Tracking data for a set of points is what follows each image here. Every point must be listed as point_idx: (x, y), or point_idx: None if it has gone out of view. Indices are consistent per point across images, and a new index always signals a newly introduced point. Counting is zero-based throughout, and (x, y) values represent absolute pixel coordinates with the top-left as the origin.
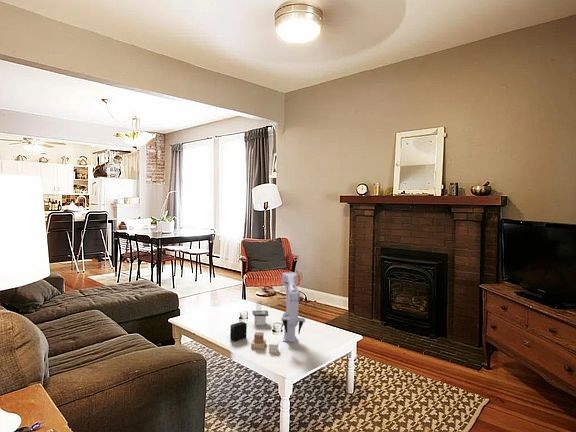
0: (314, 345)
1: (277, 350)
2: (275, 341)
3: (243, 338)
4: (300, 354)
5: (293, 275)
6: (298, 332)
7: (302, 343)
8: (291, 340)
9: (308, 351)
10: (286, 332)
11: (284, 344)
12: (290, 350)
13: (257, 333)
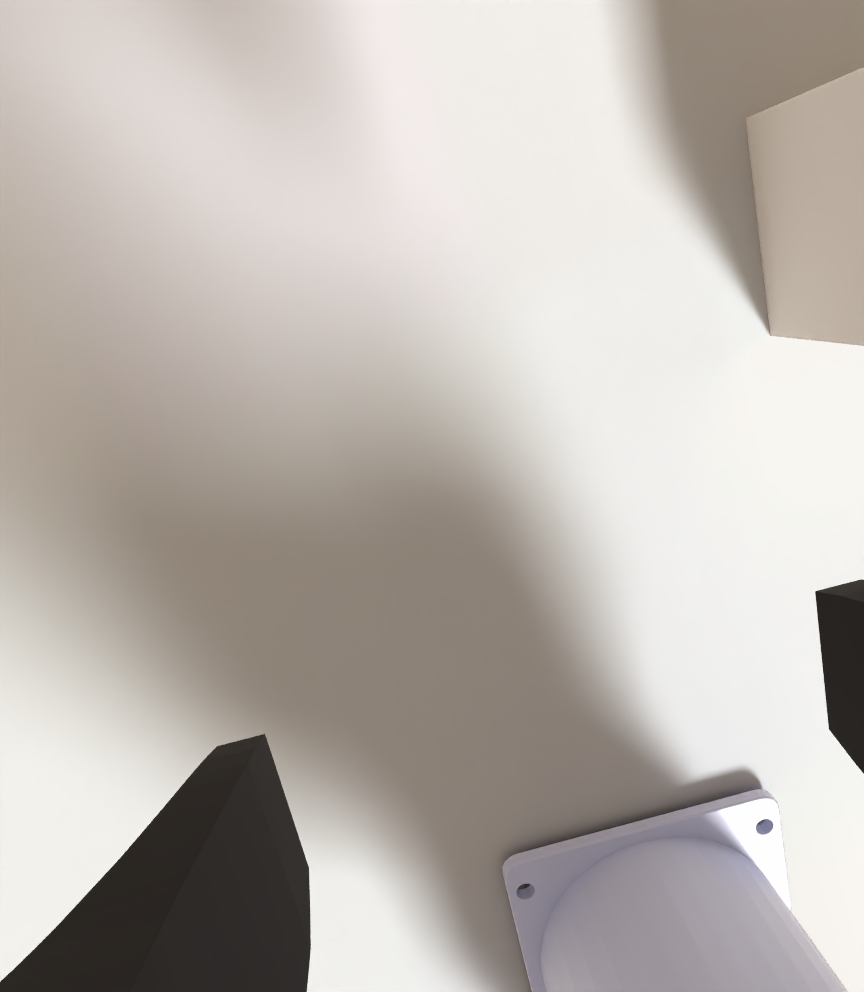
0: (24, 891)
1: (769, 200)
2: None
3: None
4: (140, 265)
5: None
6: (240, 762)
7: (322, 870)
8: (591, 870)
9: (19, 527)
10: (857, 588)
11: (691, 655)
12: (464, 398)
13: None
